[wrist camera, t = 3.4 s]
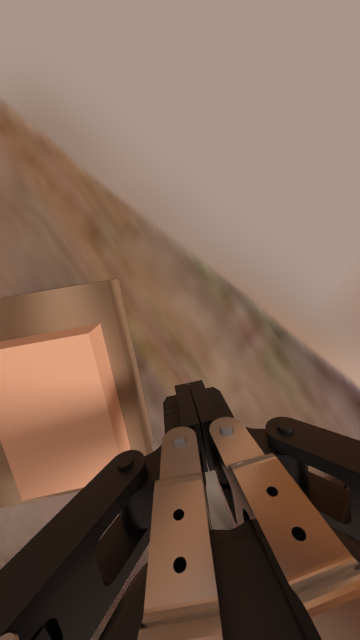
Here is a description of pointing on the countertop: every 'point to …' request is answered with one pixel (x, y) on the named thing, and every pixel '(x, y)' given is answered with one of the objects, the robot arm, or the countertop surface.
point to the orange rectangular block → (58, 410)
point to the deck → (107, 310)
